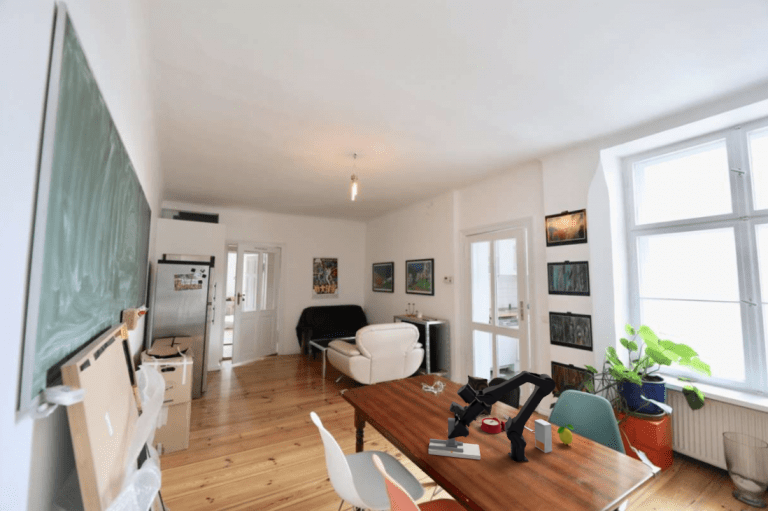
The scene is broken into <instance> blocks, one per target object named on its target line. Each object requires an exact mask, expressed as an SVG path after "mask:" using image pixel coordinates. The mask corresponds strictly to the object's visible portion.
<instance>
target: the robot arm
mask: <svg viewBox="0 0 768 511" xmlns="http://www.w3.org/2000/svg"><path fill="white" fill-rule="evenodd" d="M526 383H528V384H532V385H534V387H533V391H532V392H531V393H530V395H529V396H528V398H527V399H526V401H525V403H523V405H522V407H521V408H520V410H519V411H518V412H517V413H516V415H515V416H514V417H513V418H512V417H511V416H508V420H507V419H506V421H504V422H505V427H504V428H505V430H504V432H505V435H506V437H507V439H508V441H510V452H507V456H509V458H510V459H511V460H512V461H513V462H529V459H528V458H527V456H526V449H525V448H526V446H527V444H528V443H527V441H526V439H525V437H524V435H523V434H524V429H525V427H524V426H526V424H527V422H528V421H529V419H531V417H532V415H533V414H534V412H535V411H536V409H537V408H538V406H539V405H540V403H541V402H542V400H543V399H544V398H545V397H547V396H549V395H551V393H552V392H553V391H554V390H555V389H556V387H557V385H556V381H555V380H554V378H552V376H550V375H549V374H547V373H538V372H531V371H527V370H522V371H521V372H520V373H518V374H516V375H515V376H512V377H510V378H508V379H507V380H504V381H502V382H501V383H499V384H497V385H496V384H495V385H491V386H489V387H487V388H485V389H483V390H475V391H474V390H473V389H472V388H471V386H470V385H469V384H468V382H467V383H466V384H463V385H462V386H460V388H458V390H457V392H456V394H457V396H459V397H460V399H461V400H463V402H464V403H465V404H468V405H464V406H462V404H460V403H458V402H455V401H451V403H450V406H449V410H448V411H450V412H451V413H453V415H454V417H453V418H455V423H454V429H453V430H452V432H451V433H450V434H449V436H448V435H447V439H448V438H449V439H452V438H455V439H456V438H461V437H464V438H465V439H466V438H468V436H469V435H470V430H469V427H470V426H471V424H472V422H476V421H477V418H478V417H479V416H480V415H481V413H482V412H483V411H484V410H486V411H487V412H488V413H490V405H492V406H493V405H495V404H496V403H498V402H499V401H500V400H501V399H502V398H503V396H504V395H506V394H508V393H511V391H514V390H515V389H517V388H519V387H521V386H523V385H525V384H526ZM474 399H475V400H474ZM473 400H474V401H473ZM471 402H472V403H471ZM484 402H485V403H486V404H488V405H486V404H485V403H484ZM469 403H471V404H470V405H469Z"/></svg>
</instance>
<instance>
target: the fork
mask: <svg viewBox="0 0 768 511" xmlns="http://www.w3.org/2000/svg"><path fill="white" fill-rule="evenodd" d="M502 416H503V417H504V418H505V419H506V421H507V420H508V418H509V416H508V415H507V414H506V413H505V414H502ZM524 429H527V430H528V431H530V432H532V431H534V430H533V429H531V428H530V427H527V426H526V425H525V426H524Z"/></svg>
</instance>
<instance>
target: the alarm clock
mask: <svg viewBox="0 0 768 511" xmlns="http://www.w3.org/2000/svg"><path fill="white" fill-rule="evenodd" d="M505 422H506V421H503V420H499V418H497V417H494V416H493V417H492V418H491V417H484V418H482V419H481V423H480V424H481V425H480V430H481V432H485V433H488V434H501V433H502V430H503V431H505V428H504V427H505ZM476 424H479V422H476Z"/></svg>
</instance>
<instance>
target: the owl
mask: <svg viewBox="0 0 768 511" xmlns="http://www.w3.org/2000/svg"><path fill="white" fill-rule="evenodd" d="M467 378H468V379H467V383H468V384H469V385H470V386H471V388H472V389H473V390H474V391H475V390H483V389H485V388H487V387H490V386H489V379H487V378H484V377H479V376H473V375H469V374H468V375H467ZM474 400H475V399H474ZM474 400H473V401H474ZM471 403H472V402H471ZM471 403H469V404H468V406H469V405H470V404H471ZM484 403H485V402H484ZM485 404H486V403H485ZM486 405H488V404H486ZM492 409H493V405H490V413H488V412H487V411H486V410H484V411H483V412H482V413H481V414H480V415H483V416H487V415H489V416H491V415H492Z"/></svg>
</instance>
